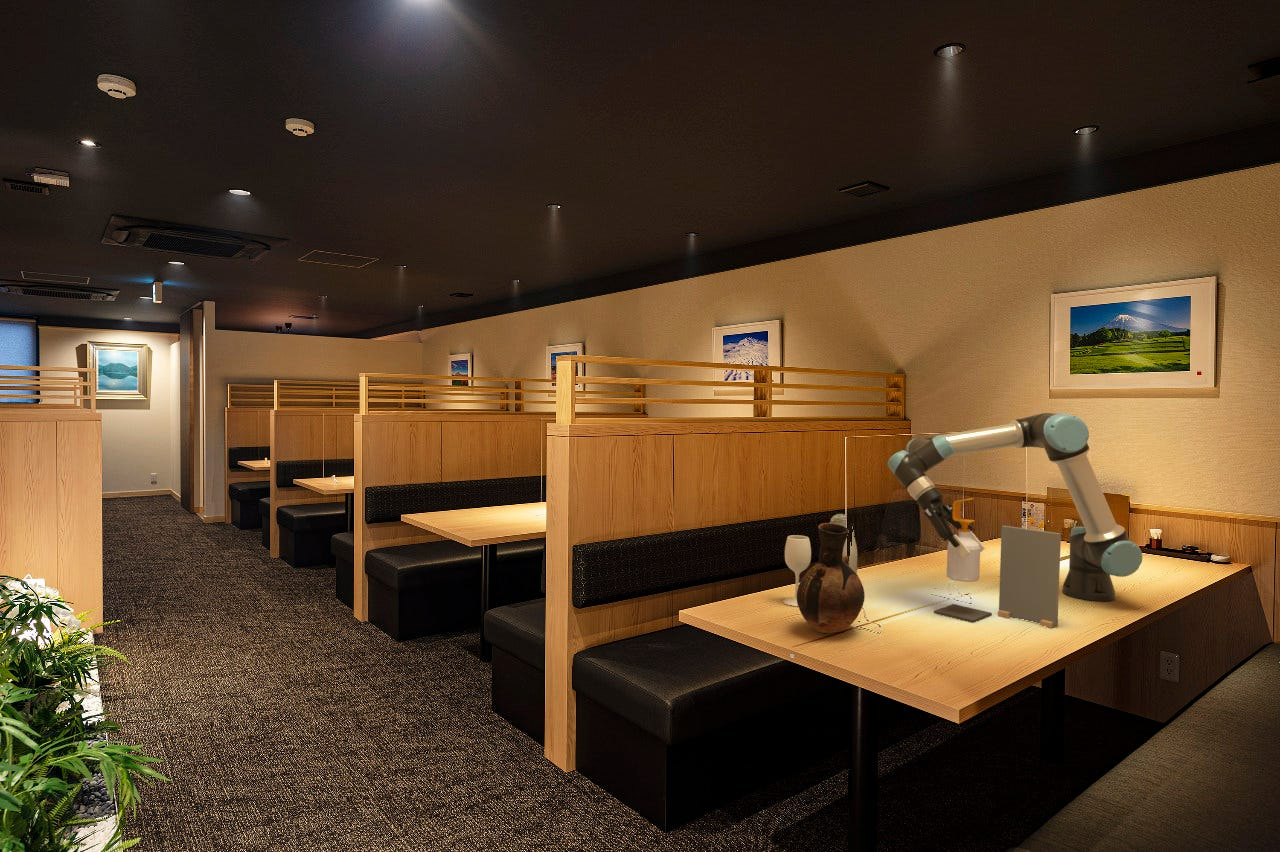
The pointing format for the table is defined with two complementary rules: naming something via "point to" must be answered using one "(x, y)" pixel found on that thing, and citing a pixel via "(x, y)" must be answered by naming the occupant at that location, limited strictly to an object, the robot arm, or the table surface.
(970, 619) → the coaster
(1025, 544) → the divider
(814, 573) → the ceramic vessel
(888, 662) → the table surface
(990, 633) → the table surface
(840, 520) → the glass bottle
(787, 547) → the wineglass
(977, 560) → the soap bottle
